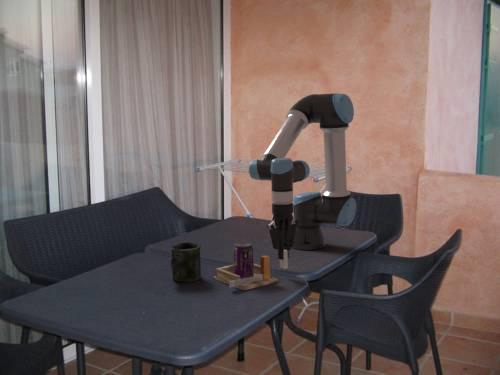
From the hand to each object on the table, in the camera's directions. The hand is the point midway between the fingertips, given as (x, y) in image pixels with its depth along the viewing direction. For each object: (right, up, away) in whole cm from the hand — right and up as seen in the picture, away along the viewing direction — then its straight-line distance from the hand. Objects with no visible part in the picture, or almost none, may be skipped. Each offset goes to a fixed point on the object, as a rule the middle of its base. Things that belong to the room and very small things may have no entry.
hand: (283, 267), depth 214 cm
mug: (-35, -5, 0) cm, 36 cm away
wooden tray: (-14, -4, -1) cm, 15 cm away
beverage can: (-14, -3, -1) cm, 15 cm away
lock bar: (-12, -4, -9) cm, 16 cm away
